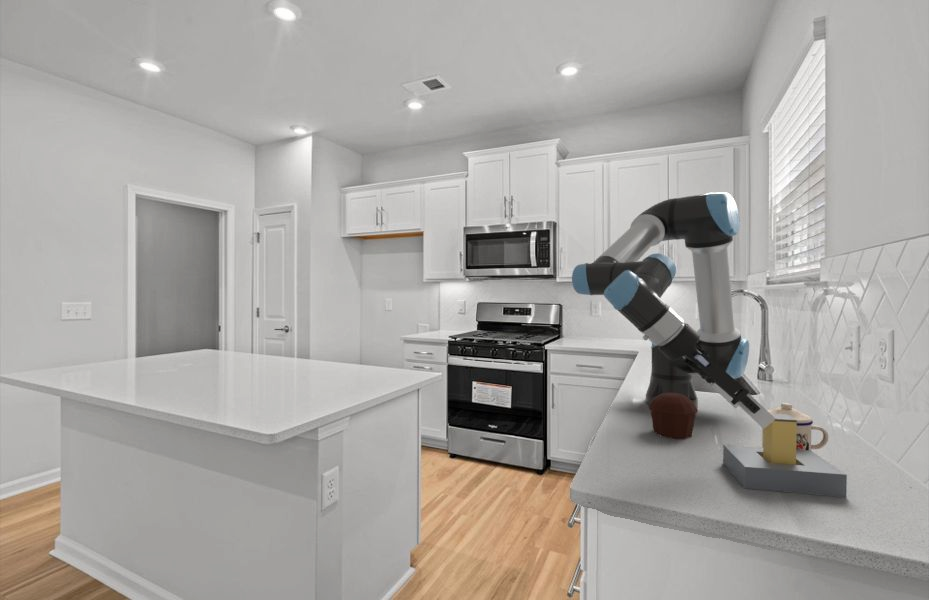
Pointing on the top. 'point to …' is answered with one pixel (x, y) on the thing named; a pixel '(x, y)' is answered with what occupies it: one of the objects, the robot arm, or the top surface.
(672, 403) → the muffin
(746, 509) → the top surface
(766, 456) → the plug
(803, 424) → the teacup with lid
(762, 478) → the socket plate
